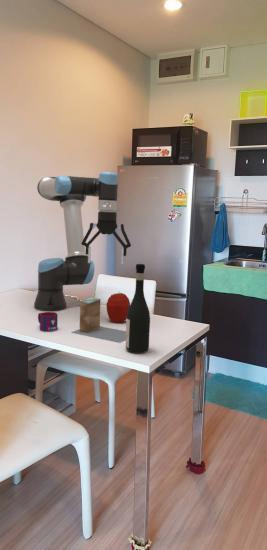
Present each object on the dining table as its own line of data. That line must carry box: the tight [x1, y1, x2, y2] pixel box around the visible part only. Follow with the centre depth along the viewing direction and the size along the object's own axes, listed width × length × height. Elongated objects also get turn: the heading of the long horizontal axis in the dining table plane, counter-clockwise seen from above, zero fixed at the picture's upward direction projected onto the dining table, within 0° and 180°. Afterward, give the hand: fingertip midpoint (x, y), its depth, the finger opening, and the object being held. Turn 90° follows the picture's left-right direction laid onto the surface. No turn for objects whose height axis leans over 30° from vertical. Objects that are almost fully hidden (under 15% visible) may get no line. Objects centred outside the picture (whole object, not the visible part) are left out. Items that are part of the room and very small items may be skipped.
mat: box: [71, 325, 126, 344], centre depth 165 cm, size 22×14×1 cm, turn 61°
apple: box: [105, 292, 131, 324], centre depth 182 cm, size 10×10×14 cm
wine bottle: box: [125, 263, 151, 354], centre depth 146 cm, size 8×8×30 cm
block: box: [79, 297, 101, 333], centre depth 167 cm, size 4×8×12 cm, turn 151°
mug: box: [37, 311, 59, 333], centre depth 168 cm, size 7×10×7 cm
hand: (105, 263), depth 177 cm, fingers open, 13 cm apart
